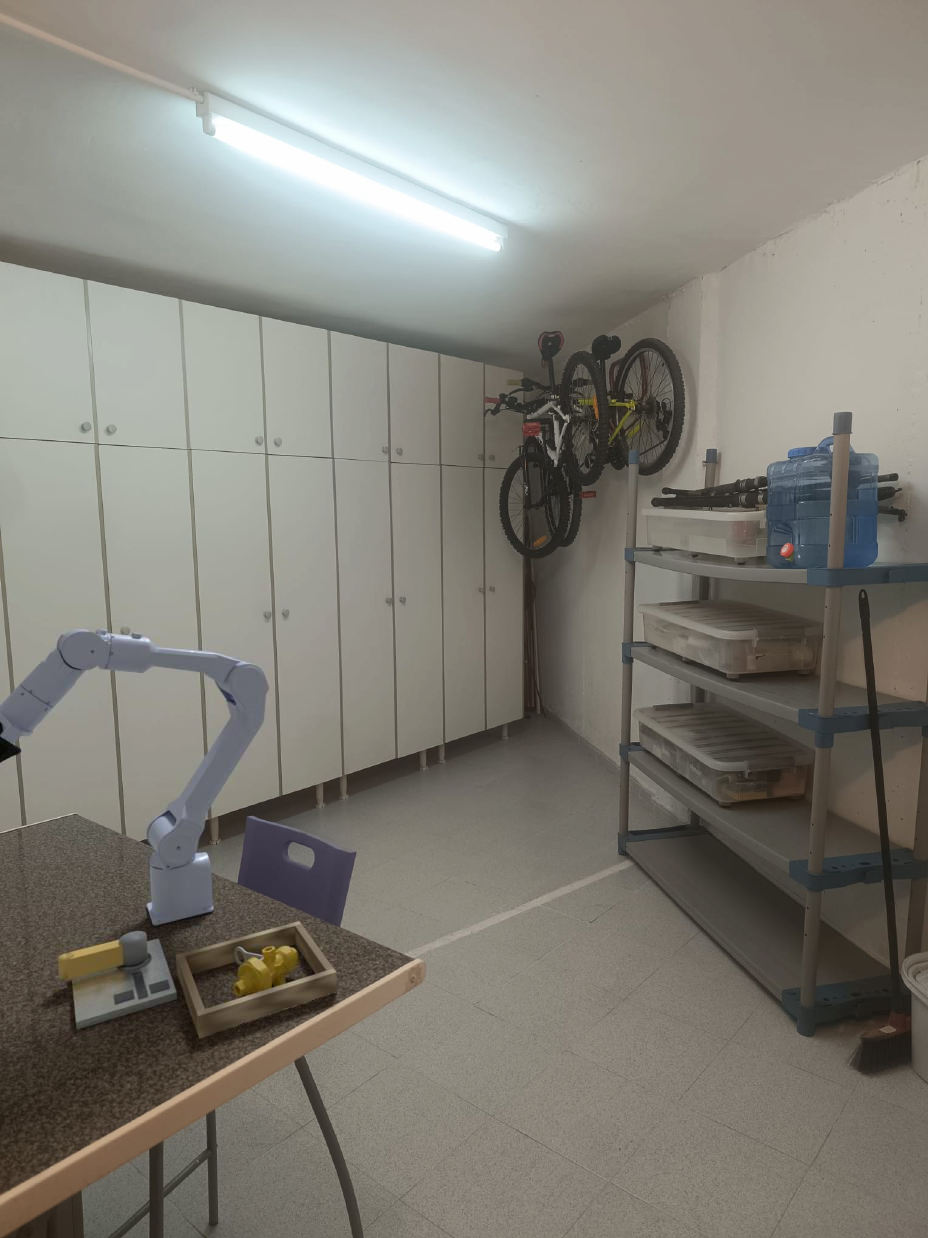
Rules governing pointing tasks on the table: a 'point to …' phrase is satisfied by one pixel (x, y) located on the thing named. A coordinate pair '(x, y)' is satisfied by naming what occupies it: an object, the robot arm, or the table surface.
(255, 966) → the pressure relief valve
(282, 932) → the parts frame
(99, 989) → the base
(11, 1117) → the table surface
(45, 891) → the table surface
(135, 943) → the handle
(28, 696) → the robot arm
